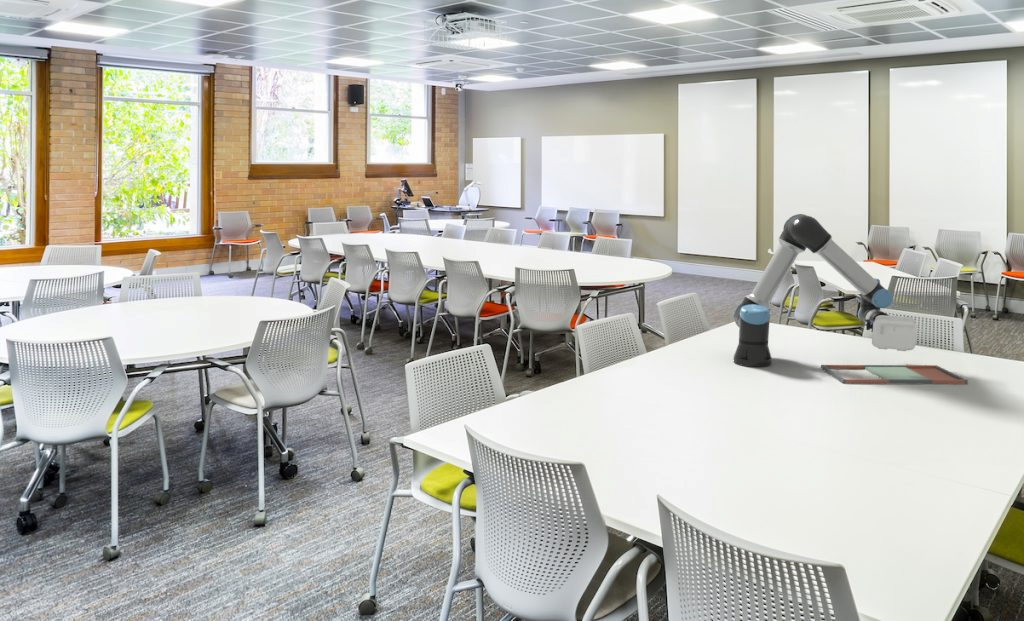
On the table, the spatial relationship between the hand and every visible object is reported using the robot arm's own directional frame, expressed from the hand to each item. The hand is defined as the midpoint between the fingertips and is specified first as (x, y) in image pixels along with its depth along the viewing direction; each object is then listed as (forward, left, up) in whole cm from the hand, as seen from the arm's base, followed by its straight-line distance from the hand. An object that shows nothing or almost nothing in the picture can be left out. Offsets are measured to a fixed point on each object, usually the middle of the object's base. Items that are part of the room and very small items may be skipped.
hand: (898, 331), depth 299 cm
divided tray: (+1, +4, -19) cm, 19 cm away
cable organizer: (+1, +4, -8) cm, 9 cm away
